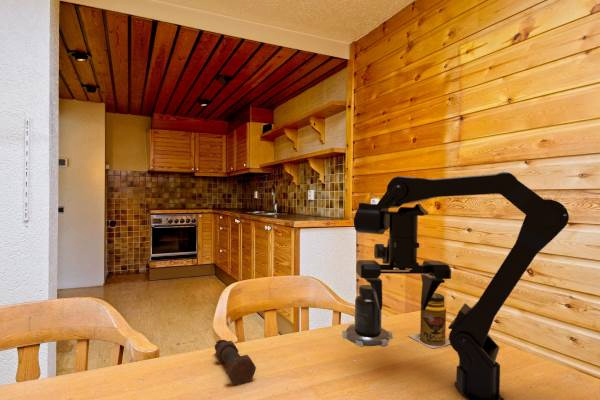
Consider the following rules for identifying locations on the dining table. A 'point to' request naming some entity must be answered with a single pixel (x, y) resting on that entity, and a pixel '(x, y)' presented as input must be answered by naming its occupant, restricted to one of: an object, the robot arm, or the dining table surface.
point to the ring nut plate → (369, 341)
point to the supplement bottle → (367, 313)
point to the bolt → (235, 362)
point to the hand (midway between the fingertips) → (401, 309)
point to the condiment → (433, 323)
